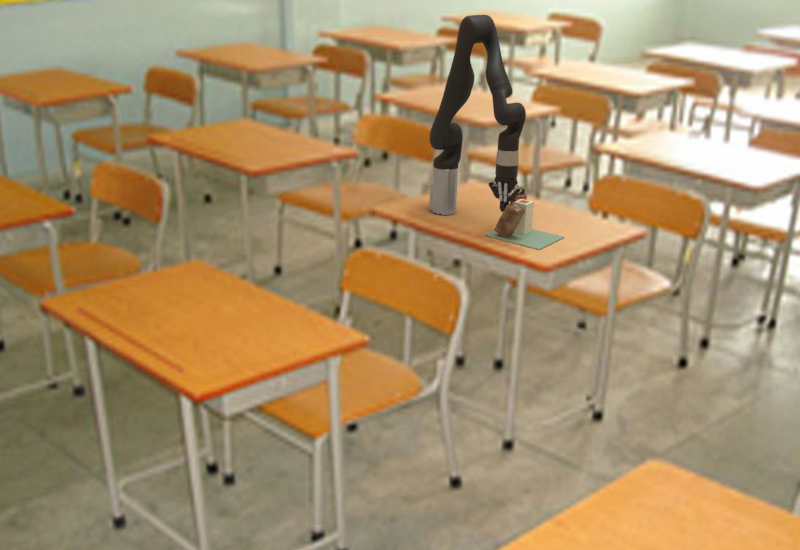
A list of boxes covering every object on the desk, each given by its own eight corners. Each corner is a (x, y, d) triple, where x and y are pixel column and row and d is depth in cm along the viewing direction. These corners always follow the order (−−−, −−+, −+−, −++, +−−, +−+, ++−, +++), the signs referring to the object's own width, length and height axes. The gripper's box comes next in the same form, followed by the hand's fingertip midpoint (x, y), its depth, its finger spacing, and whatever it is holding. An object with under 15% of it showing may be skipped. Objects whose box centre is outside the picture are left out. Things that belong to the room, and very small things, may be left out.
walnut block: (493, 230, 340) (506, 205, 333) (501, 226, 343) (514, 201, 337) (504, 238, 338) (517, 213, 332) (512, 235, 342) (525, 210, 335)
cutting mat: (484, 235, 342) (484, 234, 341) (510, 224, 354) (510, 223, 354) (539, 250, 329) (539, 249, 329) (564, 237, 342) (564, 236, 341)
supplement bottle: (524, 220, 359) (526, 190, 354) (508, 219, 360) (510, 189, 355) (525, 215, 364) (528, 186, 360) (509, 214, 365) (511, 185, 361)
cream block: (511, 231, 345) (514, 201, 341) (519, 228, 349) (521, 198, 345) (524, 235, 342) (526, 204, 338) (531, 231, 346) (533, 201, 342)
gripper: (484, 160, 333) (481, 209, 339) (518, 167, 325) (514, 217, 331) (496, 156, 338) (493, 205, 344) (529, 163, 331) (526, 212, 337)
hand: (504, 211), depth 338 cm, fingers closed
